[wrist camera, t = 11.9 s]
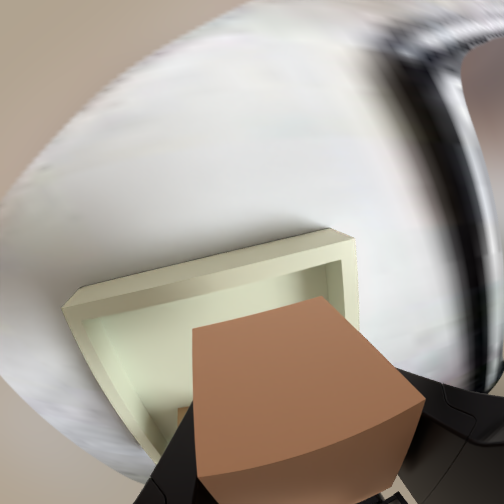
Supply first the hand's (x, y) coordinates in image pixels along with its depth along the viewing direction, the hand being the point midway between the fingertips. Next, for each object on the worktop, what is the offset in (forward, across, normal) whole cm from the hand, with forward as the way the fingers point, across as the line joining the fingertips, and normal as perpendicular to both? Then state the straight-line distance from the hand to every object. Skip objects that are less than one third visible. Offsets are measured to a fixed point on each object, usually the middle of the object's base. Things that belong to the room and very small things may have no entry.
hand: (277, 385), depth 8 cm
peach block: (+1, 0, 0) cm, 1 cm away
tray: (+7, +2, +4) cm, 9 cm away
